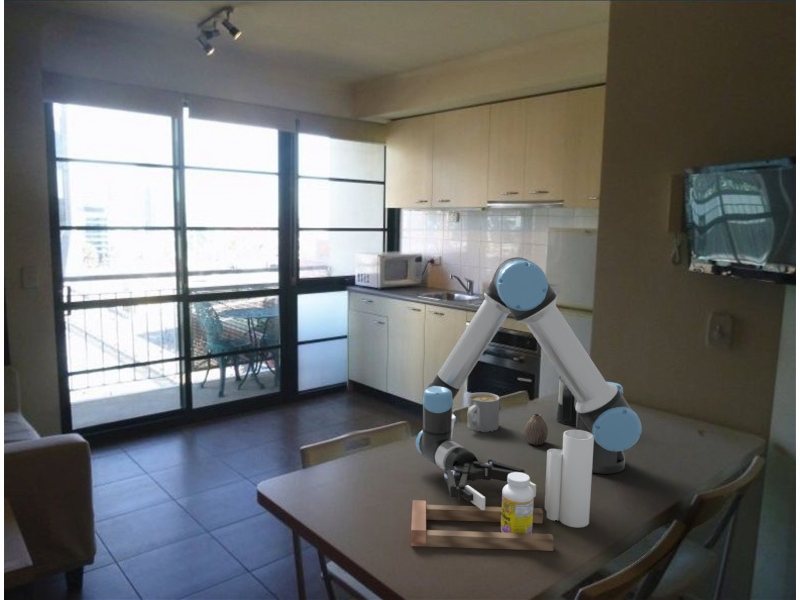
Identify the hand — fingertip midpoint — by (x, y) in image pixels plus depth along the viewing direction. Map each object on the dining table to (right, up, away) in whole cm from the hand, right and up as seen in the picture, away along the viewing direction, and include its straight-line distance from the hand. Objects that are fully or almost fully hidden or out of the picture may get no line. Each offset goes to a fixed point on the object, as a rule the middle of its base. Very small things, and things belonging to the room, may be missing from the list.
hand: (509, 497), depth 127 cm
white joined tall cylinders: (+14, -7, +7) cm, 17 cm away
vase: (+17, -1, +52) cm, 55 cm away
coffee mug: (+2, +1, +64) cm, 64 cm away
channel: (-6, -7, 0) cm, 9 cm away
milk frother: (+37, +1, +69) cm, 78 cm away
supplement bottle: (+1, -8, 0) cm, 8 cm away
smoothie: (-11, -1, +47) cm, 48 cm away
